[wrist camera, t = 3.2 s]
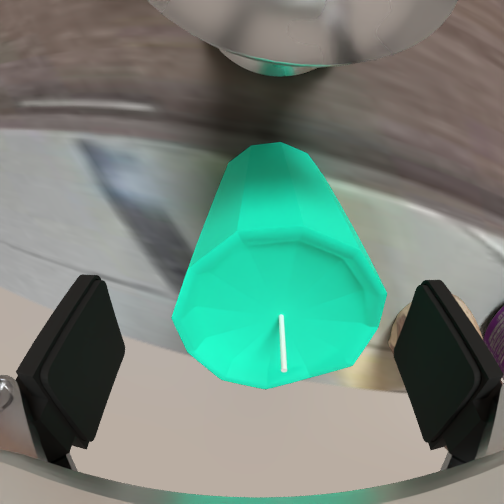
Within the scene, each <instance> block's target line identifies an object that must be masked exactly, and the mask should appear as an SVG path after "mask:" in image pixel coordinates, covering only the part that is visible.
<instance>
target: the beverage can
mask: <svg viewBox="0 0 504 504" xmlns="http://www.w3.org/2000/svg"><path fill="white" fill-rule="evenodd" d="M484 342H485V344H486V346H487V347H488V349H489V350H490V352H491V354H492V355H493V357H494V359H495V360H496V362H497V364H498V365H499V367H500V369H501V370H502V372H503V374H504V305H503V306H502V307H501V308H500V310H499V311H498V312H497V313H496V315H495V316H494V317H493V319H492V320H491V322H490V324H489V325H488V327H487V329H486V332H485V335H484ZM502 378H503V380H504V375H503V377H502Z"/></svg>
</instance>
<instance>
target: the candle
mask: <svg viewBox="0 0 504 504" xmlns="http://www.w3.org/2000/svg"><path fill="white" fill-rule="evenodd" d="M386 296H387V292H386V290H385V288H384V286H383V284H382V282H381V280H380V278H379V276H378V274H377V272H376V270H375V268H374V266H373V264H372V262H371V260H370V258H369V256H368V254H367V252H366V250H365V248H364V246H363V245H362V243H361V241H360V239H359V237H358V235H357V233H356V232H355V230H354V228H353V226H352V224H351V222H350V221H349V219H348V217H347V215H346V213H345V212H344V210H343V208H342V206H341V205H340V203H339V201H338V199H337V198H336V196H335V194H334V193H333V191H332V189H331V187H330V186H329V184H328V182H327V181H326V179H325V177H324V176H323V174H322V173H321V172H320V170H319V169H318V167H317V166H316V164H315V163H314V162H313V160H312V159H311V158H310V156H309V155H308V153H305V152H303V151H301V150H299V149H296V148H294V147H292V146H289V145H287V144H285V143H282V142H276V143H267V144H259V145H251V146H250V147H249V148H247V149H246V150H245V151H243V152H242V153H241V154H239V155H238V156H237V157H235V158H234V159H233V160H231V161H230V162H229V163H228V165H227V168H226V170H225V173H224V175H223V178H222V180H221V183H220V185H219V188H218V190H217V193H216V195H215V198H214V200H213V203H212V205H211V208H210V211H209V213H208V216H207V218H206V221H205V224H204V226H203V229H202V232H201V234H200V237H199V240H198V242H197V245H196V248H195V251H194V253H193V256H192V259H191V262H190V264H189V267H188V270H187V273H186V276H185V279H184V282H183V285H182V288H181V290H180V293H179V296H178V300H177V303H176V306H175V309H174V312H173V315H172V320H173V323H174V325H175V327H176V329H177V331H178V333H179V335H180V338H181V340H182V342H183V344H184V346H185V348H186V350H187V352H188V353H189V354H190V355H191V356H193V357H194V358H195V359H196V360H197V361H199V362H200V363H201V364H202V365H204V366H205V367H206V368H207V369H208V370H210V371H211V372H212V373H213V374H215V375H216V376H217V377H218V378H220V379H221V380H224V381H228V382H232V383H238V384H241V385H247V386H251V387H256V388H261V389H269V388H273V387H277V386H281V385H285V384H289V383H293V382H297V381H300V380H304V379H307V378H311V377H315V376H319V375H322V374H326V373H330V372H333V371H337V370H340V369H344V368H347V367H350V366H353V365H354V363H355V362H356V360H357V359H358V357H359V356H360V354H361V353H362V352H363V350H364V349H365V347H366V346H367V344H368V343H369V341H370V340H371V338H372V337H373V335H374V333H375V332H376V330H377V329H378V327H379V323H380V320H381V316H382V312H383V308H384V304H385V300H386Z"/></svg>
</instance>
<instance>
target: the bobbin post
mask: <svg viewBox="0 0 504 504" xmlns="http://www.w3.org/2000/svg"><path fill="white" fill-rule="evenodd" d="M457 1H458V0H148V2H149V3H150V4H151V5H152V6H154V7H155V8H156V9H157V10H158V11H159V12H160V13H161V14H163V15H164V16H165V17H166V18H168V19H169V20H171V21H172V22H174V23H175V24H177V25H178V26H179V27H181V28H182V29H184V30H186V31H187V32H189V33H190V34H192V35H194V36H195V37H197V38H199V39H201V40H203V41H205V42H207V43H208V44H210V45H212V46H214V47H217V48H218V49H219V50H220V51H221V52H222V53H223V54H224V55H225V56H226V57H228V58H229V59H230V60H231V61H233V62H234V63H236V64H237V65H239V66H241V67H242V68H245V69H247V70H249V71H252V72H255V73H258V74H262V75H267V76H276V77H280V76H293V75H298V74H302V73H306V72H309V71H311V70H314V69H316V68H319V67H331V66H342V65H348V64H354V63H359V62H365V61H371V60H376V59H380V58H383V57H387V56H390V55H394V54H397V53H399V52H401V51H403V50H406V49H408V48H410V47H413V46H414V45H416V44H418V43H419V42H421V41H422V40H424V39H426V38H427V37H429V36H430V35H431V34H432V33H433V32H435V31H436V30H437V29H438V28H439V27H440V26H441V25H442V24H443V23H444V22H445V20H446V19H447V18H448V17H449V15H450V14H451V13H452V11H453V9H454V7H455V5H456V3H457Z"/></svg>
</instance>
